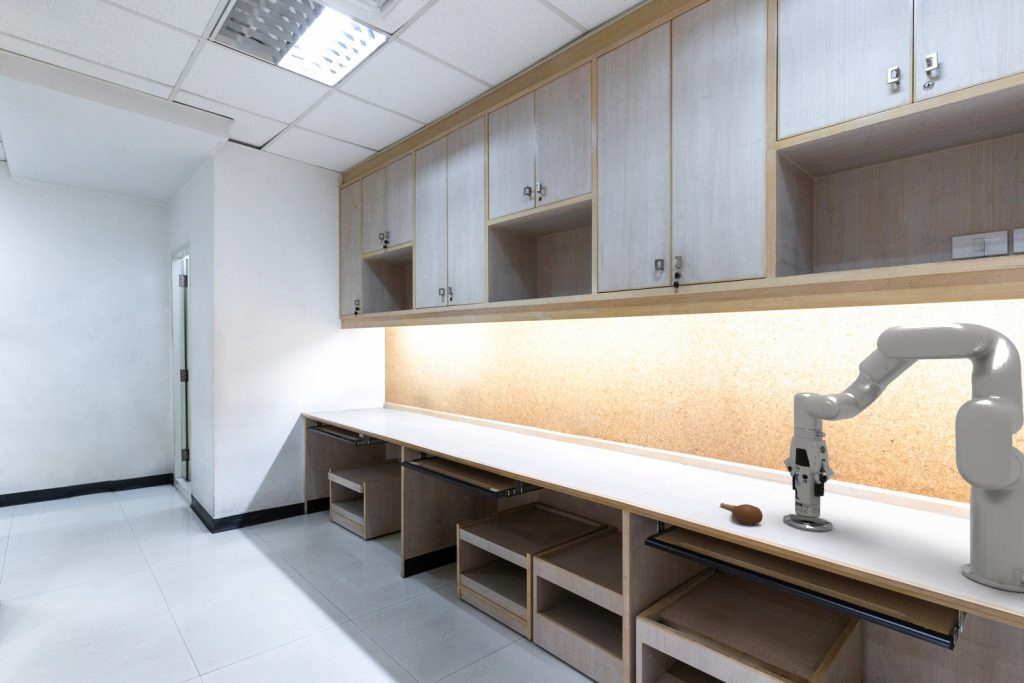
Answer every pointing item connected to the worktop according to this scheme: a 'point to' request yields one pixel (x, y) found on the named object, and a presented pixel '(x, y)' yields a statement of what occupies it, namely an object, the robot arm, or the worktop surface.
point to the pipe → (745, 513)
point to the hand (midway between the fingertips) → (807, 492)
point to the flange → (808, 523)
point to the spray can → (805, 487)
